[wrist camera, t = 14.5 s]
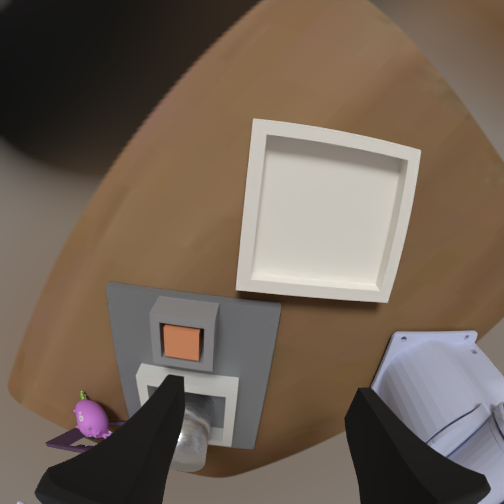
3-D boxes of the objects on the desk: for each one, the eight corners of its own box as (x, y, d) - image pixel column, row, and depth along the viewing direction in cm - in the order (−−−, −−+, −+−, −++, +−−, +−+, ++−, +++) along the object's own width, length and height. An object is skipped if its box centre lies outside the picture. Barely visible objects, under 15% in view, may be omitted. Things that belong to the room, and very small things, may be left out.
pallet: (280, 302, 20) (283, 326, 18) (253, 443, 26) (253, 467, 23) (110, 281, 20) (91, 301, 17) (135, 425, 26) (127, 446, 23)
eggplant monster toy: (49, 452, 20) (101, 462, 17) (27, 405, 20) (72, 405, 18) (91, 429, 26) (147, 429, 24) (73, 387, 27) (125, 380, 24)
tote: (410, 149, 17) (421, 150, 15) (380, 293, 20) (387, 302, 19) (253, 120, 17) (253, 118, 15) (237, 280, 20) (235, 290, 19)
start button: (203, 317, 19) (199, 333, 18) (202, 344, 20) (198, 360, 18) (170, 313, 19) (163, 327, 18) (171, 340, 20) (165, 355, 18)
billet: (216, 390, 22) (206, 450, 17) (211, 420, 24) (203, 475, 18) (166, 380, 22) (147, 438, 16) (166, 411, 23) (150, 464, 18)
